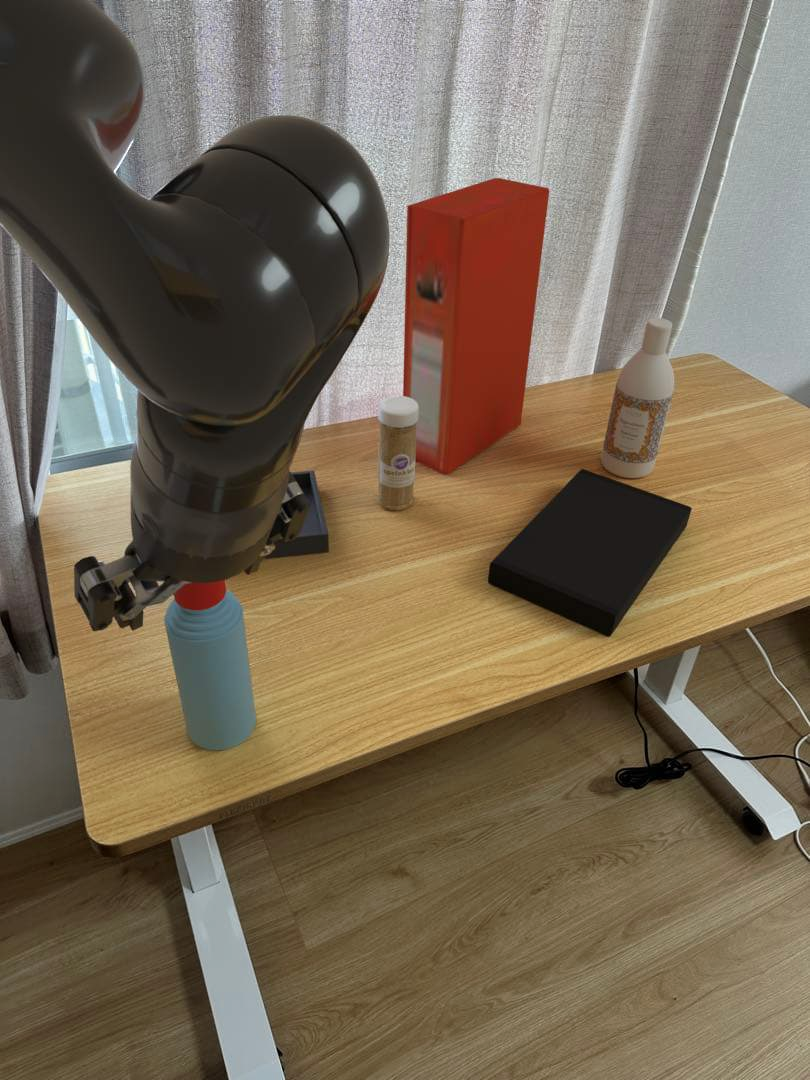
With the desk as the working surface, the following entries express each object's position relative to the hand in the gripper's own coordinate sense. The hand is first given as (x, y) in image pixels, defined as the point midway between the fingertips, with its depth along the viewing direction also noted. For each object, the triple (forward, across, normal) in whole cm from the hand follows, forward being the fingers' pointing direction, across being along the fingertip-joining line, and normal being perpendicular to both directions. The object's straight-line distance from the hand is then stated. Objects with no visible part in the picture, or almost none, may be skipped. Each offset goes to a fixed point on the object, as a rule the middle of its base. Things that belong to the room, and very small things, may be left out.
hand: (189, 588), depth 55 cm
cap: (+6, -2, -1) cm, 7 cm away
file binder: (+36, -50, -12) cm, 63 cm away
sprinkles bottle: (+32, -34, -7) cm, 47 cm away
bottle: (+19, -1, +7) cm, 20 cm away
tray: (+33, -16, -13) cm, 39 cm away
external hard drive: (+21, -46, +11) cm, 52 cm away
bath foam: (+28, -64, +3) cm, 70 cm away
